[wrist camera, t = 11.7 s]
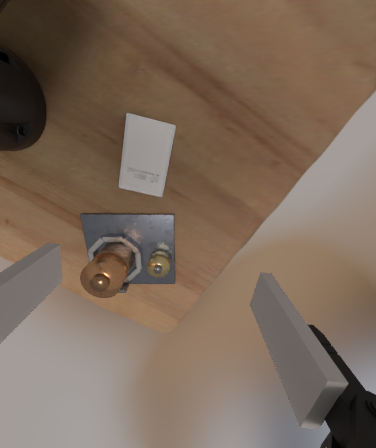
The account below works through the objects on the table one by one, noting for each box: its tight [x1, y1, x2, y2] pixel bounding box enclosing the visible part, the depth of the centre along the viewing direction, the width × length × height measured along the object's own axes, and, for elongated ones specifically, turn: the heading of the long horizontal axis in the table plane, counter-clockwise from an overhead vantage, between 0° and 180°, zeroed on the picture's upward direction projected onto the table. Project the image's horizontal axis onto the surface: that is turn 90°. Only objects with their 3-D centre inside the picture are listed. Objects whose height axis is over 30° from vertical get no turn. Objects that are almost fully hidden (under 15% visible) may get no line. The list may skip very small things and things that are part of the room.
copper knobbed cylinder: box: [80, 243, 134, 298], centre depth 37 cm, size 7×7×9 cm
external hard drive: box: [119, 113, 176, 197], centre depth 34 cm, size 2×8×12 cm
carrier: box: [80, 214, 175, 293], centre depth 39 cm, size 18×16×4 cm
